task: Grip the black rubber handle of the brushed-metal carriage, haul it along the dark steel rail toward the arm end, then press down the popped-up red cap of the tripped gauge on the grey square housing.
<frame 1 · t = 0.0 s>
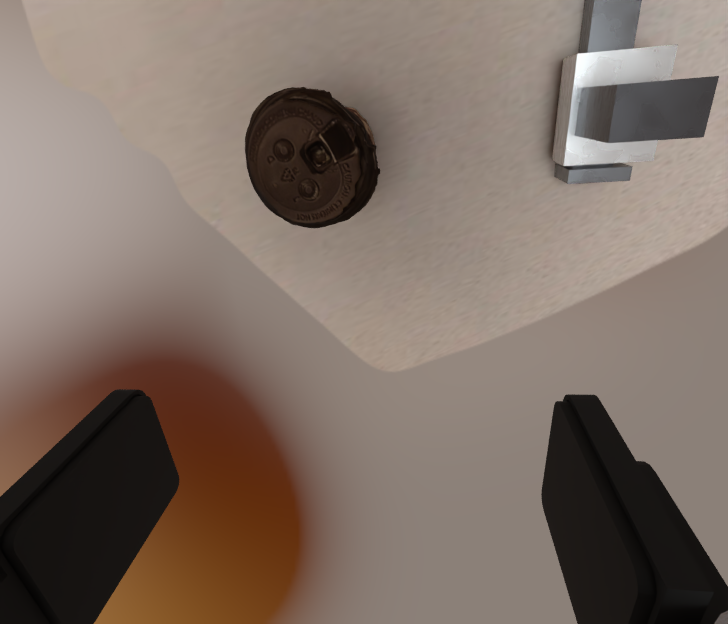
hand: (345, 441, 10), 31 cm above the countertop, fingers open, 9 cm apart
coffee cup: (341, 146, 37), on the countertop
carriage: (623, 109, 28), point 6 cm above the countertop, slide at 0.0 cm
rail: (601, 40, 31), on the countertop
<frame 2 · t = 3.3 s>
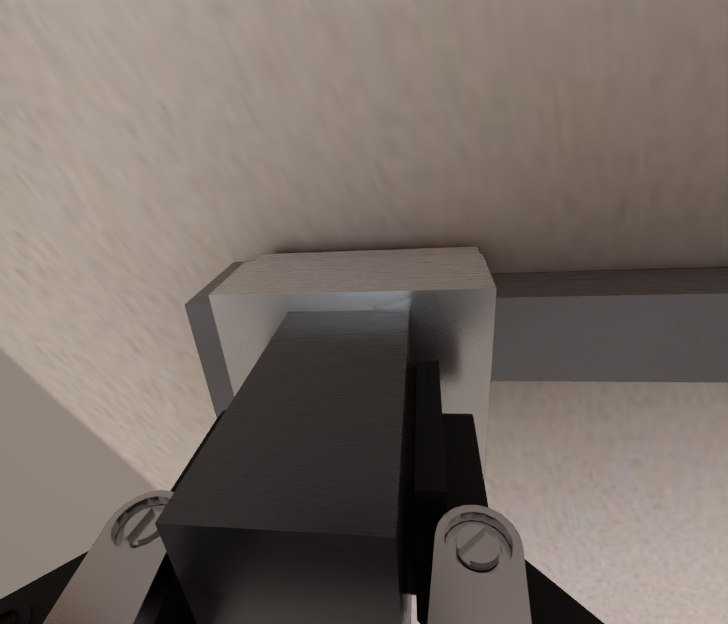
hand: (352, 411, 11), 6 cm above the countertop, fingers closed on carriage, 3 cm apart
carriage: (349, 421, 11), point 6 cm above the countertop, slide at 0.0 cm, touching gripper
rail: (499, 312, 15), on the countertop
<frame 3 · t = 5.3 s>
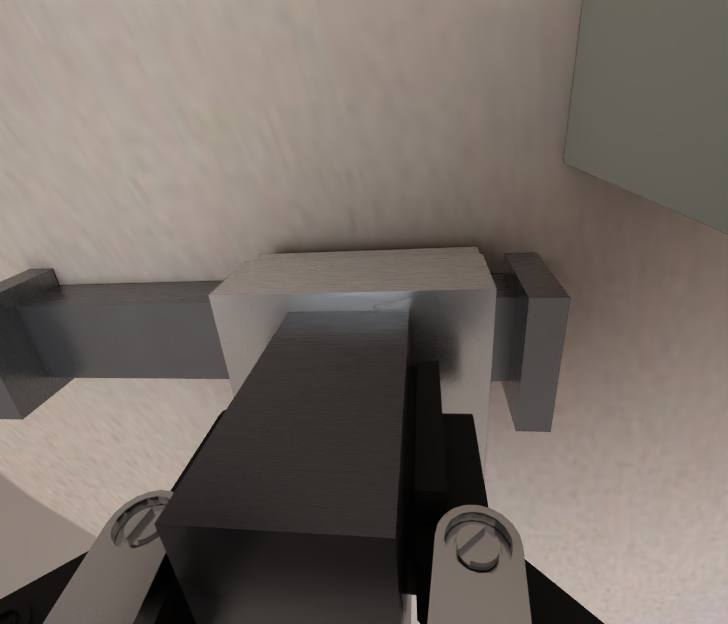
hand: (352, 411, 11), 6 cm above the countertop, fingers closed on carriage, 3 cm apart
carriage: (349, 421, 11), point 6 cm above the countertop, slide at 8.5 cm, touching gripper
rail: (271, 316, 16), on the countertop
grey square housing: (674, 57, 11), on the countertop
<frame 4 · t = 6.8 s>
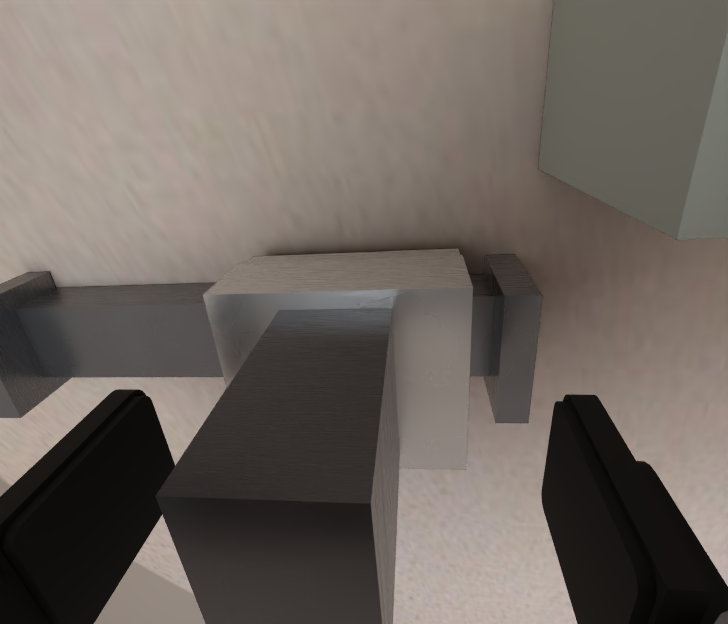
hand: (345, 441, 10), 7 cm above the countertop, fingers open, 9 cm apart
carriage: (337, 413, 11), point 6 cm above the countertop, slide at 8.5 cm
rail: (262, 316, 17), on the countertop
grey square housing: (638, 71, 12), on the countertop
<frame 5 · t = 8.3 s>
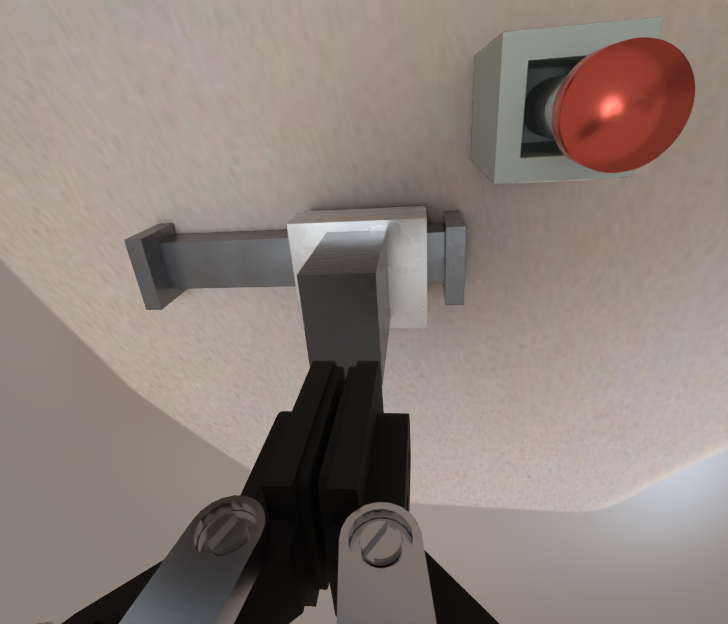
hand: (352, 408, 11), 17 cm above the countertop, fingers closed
carriage: (357, 286, 21), point 6 cm above the countertop, slide at 8.5 cm
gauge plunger: (580, 108, 14), point 9 cm above the countertop, slide at 0.0 cm
rail: (306, 252, 27), on the countertop
grey square housing: (521, 106, 22), on the countertop
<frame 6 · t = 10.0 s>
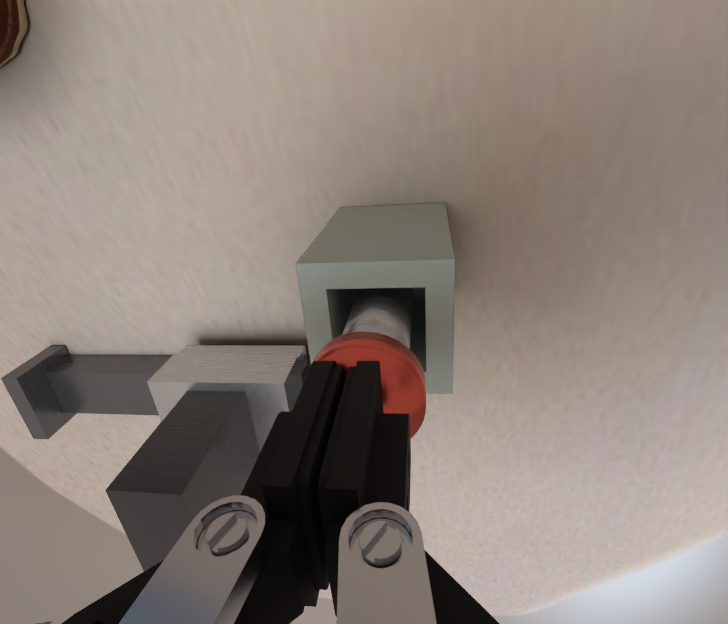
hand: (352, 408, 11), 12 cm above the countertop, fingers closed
carriage: (217, 446, 21), point 6 cm above the countertop, slide at 8.5 cm
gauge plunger: (376, 337, 14), point 8 cm above the countertop, slide at 0.7 cm, touching gripper
rail: (199, 375, 27), on the countertop
grey square housing: (393, 254, 21), on the countertop
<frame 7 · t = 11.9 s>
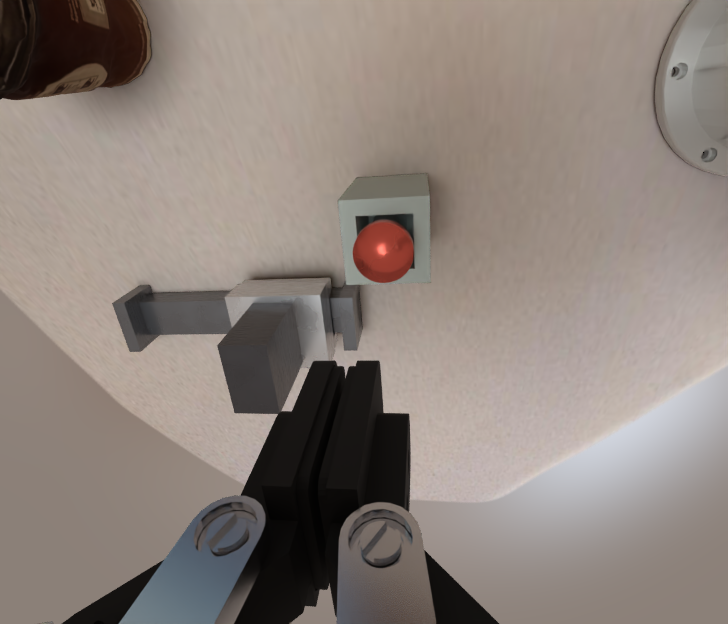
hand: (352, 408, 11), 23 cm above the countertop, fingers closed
coffee cup: (108, 37, 29), on the countertop
carriage: (273, 340, 30), point 6 cm above the countertop, slide at 8.5 cm
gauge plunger: (387, 235, 25), point 7 cm above the countertop, slide at 2.4 cm
rail: (249, 306, 36), on the countertop
grey square housing: (393, 210, 31), on the countertop
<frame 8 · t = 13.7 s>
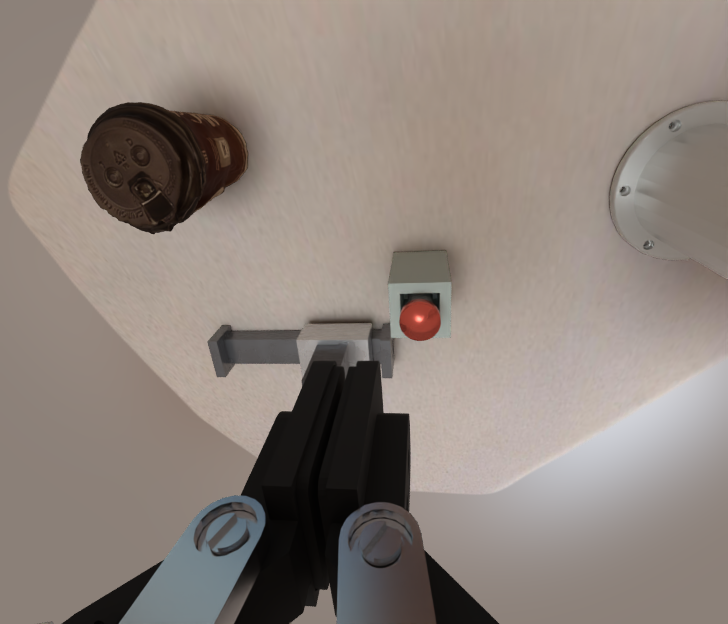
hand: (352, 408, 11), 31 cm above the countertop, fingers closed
coffee cup: (216, 154, 40), on the countertop
carriage: (332, 372, 41), point 6 cm above the countertop, slide at 8.5 cm
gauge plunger: (420, 303, 36), point 7 cm above the countertop, slide at 2.4 cm
rail: (307, 342, 47), on the countertop
grey square housing: (420, 275, 42), on the countertop
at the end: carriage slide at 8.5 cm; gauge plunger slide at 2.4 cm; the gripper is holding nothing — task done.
